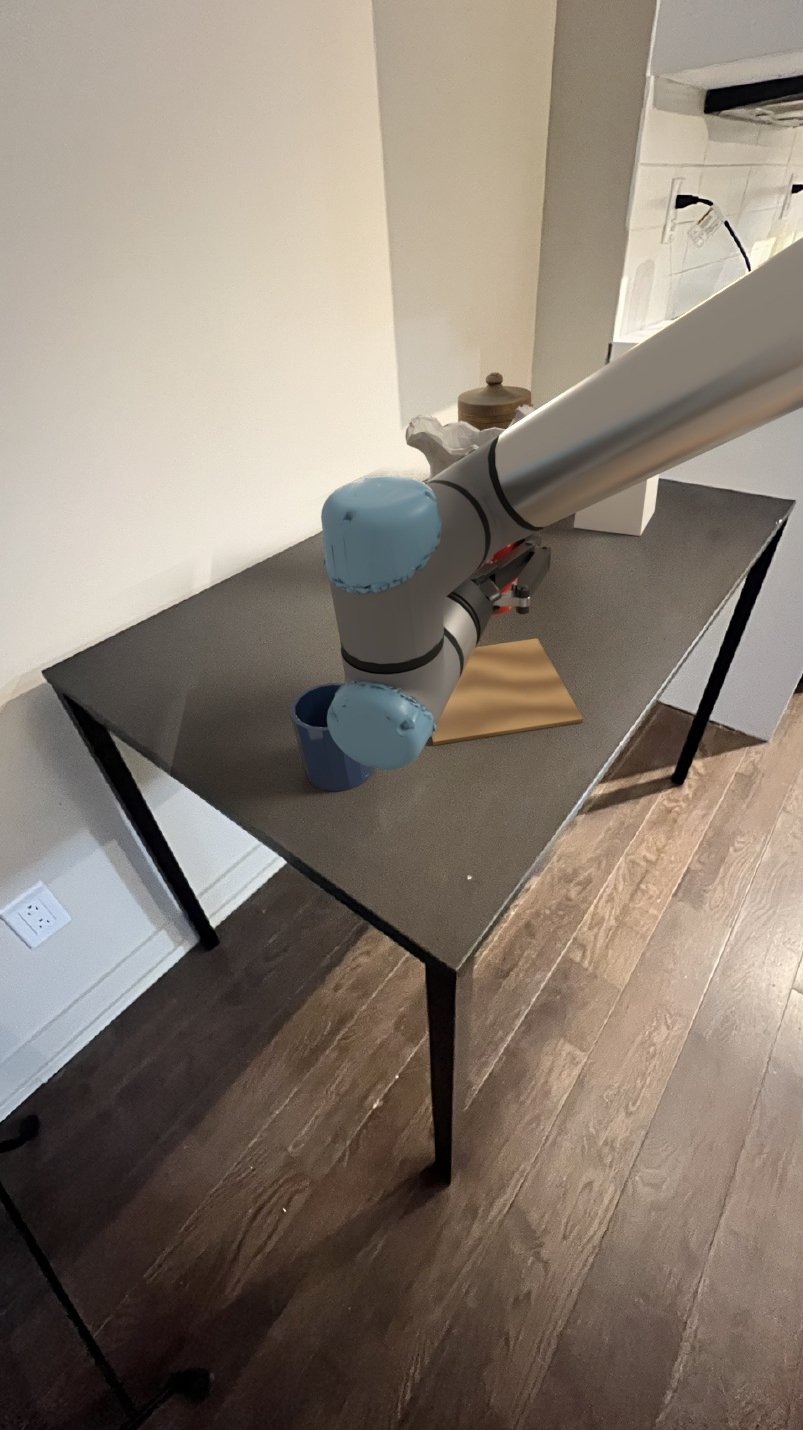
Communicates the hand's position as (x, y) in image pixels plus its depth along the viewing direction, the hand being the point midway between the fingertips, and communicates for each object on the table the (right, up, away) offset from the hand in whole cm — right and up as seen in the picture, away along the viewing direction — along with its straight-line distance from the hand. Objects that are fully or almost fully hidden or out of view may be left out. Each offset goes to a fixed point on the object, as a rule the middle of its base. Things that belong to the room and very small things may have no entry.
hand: (502, 523), depth 71 cm
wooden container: (+8, +28, +64) cm, 70 cm away
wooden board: (0, -19, +9) cm, 21 cm away
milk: (+28, +15, +46) cm, 56 cm away
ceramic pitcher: (+1, +4, +37) cm, 37 cm away
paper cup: (-1, -9, +1) cm, 9 cm away
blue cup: (-19, -28, +1) cm, 33 cm away
